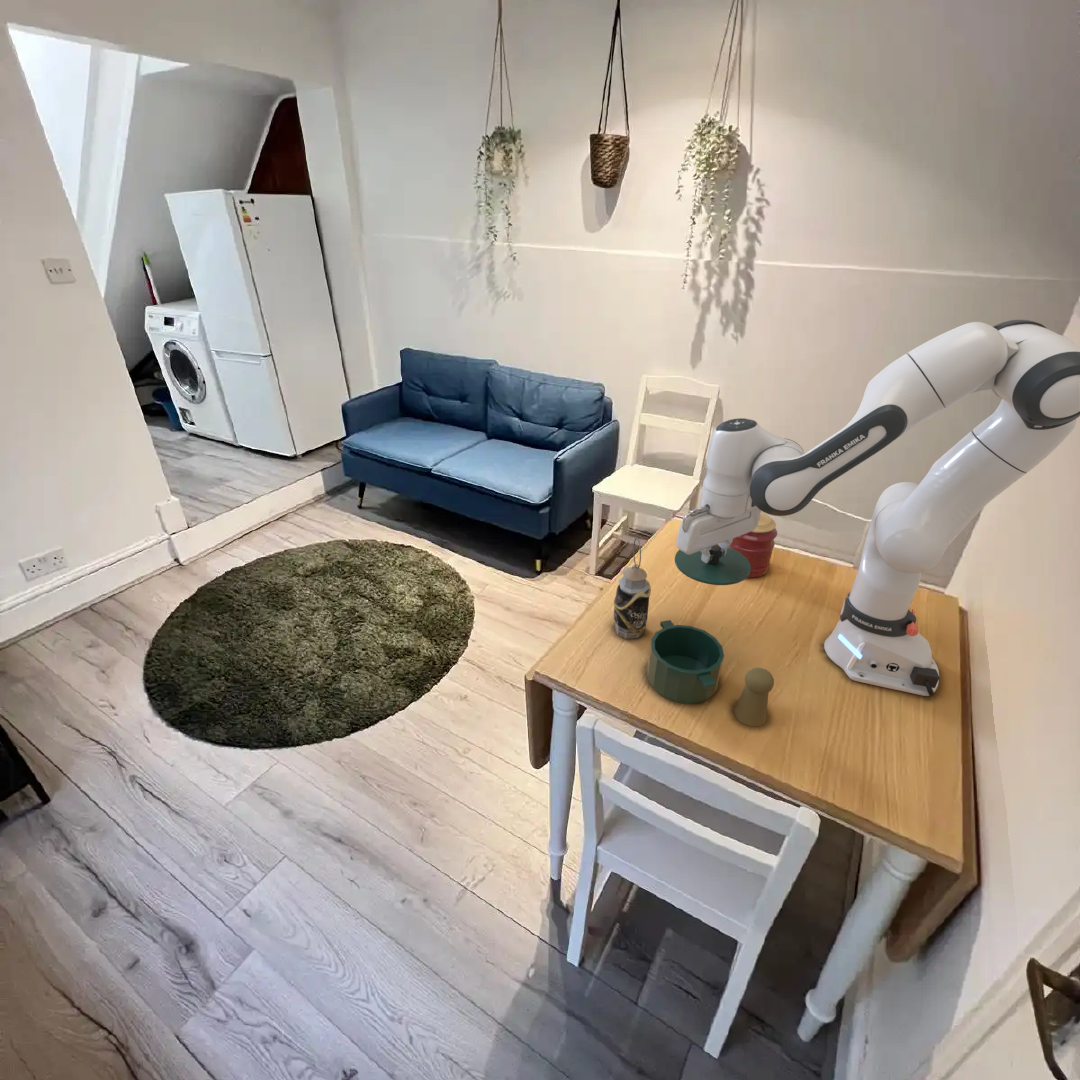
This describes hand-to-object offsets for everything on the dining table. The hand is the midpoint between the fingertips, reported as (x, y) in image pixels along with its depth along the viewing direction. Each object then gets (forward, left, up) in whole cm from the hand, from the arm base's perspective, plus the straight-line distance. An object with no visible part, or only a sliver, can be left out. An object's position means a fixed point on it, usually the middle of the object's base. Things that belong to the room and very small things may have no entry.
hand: (713, 558), depth 121 cm
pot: (-1, +13, -23) cm, 26 cm away
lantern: (+15, +4, -23) cm, 28 cm away
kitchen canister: (-2, -38, -23) cm, 44 cm away
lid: (0, 0, -2) cm, 2 cm away
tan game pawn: (-16, +16, -23) cm, 32 cm away
